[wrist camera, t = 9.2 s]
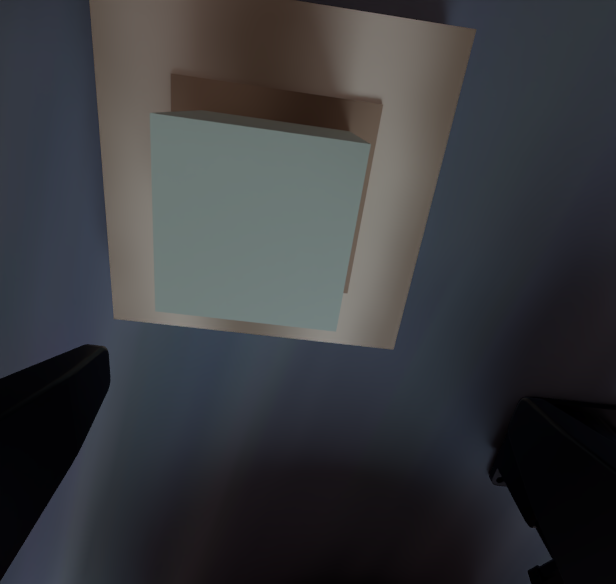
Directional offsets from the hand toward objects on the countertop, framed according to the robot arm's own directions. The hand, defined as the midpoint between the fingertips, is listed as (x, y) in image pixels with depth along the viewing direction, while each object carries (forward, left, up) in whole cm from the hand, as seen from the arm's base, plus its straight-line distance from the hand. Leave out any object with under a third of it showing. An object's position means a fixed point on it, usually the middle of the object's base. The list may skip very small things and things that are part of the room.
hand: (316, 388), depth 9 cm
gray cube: (+2, -2, -8) cm, 8 cm away
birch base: (+2, -2, -11) cm, 11 cm away
